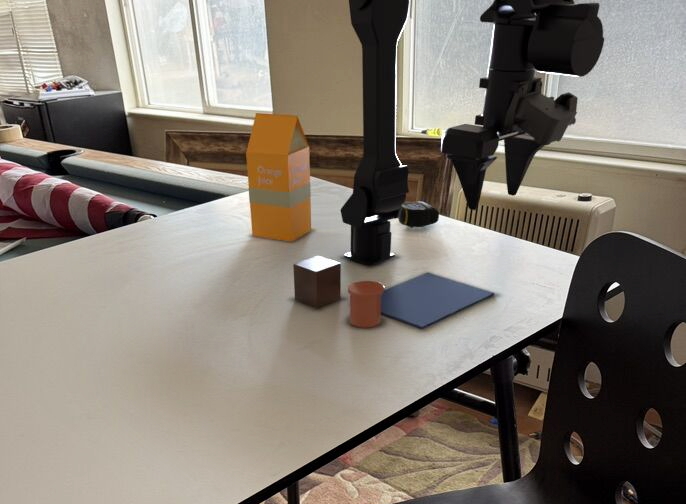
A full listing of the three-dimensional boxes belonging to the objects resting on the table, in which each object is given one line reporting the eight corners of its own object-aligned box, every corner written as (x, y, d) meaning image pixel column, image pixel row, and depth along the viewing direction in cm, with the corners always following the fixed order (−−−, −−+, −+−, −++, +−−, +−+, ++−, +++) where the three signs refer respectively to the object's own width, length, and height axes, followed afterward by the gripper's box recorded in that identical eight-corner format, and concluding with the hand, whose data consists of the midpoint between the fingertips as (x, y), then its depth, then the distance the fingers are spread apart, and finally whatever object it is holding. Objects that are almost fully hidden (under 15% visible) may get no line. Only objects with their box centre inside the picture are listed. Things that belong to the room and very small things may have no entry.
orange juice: (291, 242, 128) (286, 119, 115) (251, 235, 132) (242, 116, 119) (312, 230, 133) (309, 111, 121) (273, 224, 137) (266, 109, 124)
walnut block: (294, 299, 106) (293, 263, 103) (318, 290, 109) (317, 255, 105) (317, 308, 103) (316, 271, 100) (340, 299, 106) (340, 263, 102)
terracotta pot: (340, 321, 99) (340, 287, 96) (364, 311, 102) (365, 278, 99) (365, 331, 96) (366, 296, 93) (390, 321, 99) (391, 286, 96)
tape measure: (439, 228, 131) (441, 207, 129) (406, 232, 130) (407, 211, 128) (423, 218, 137) (425, 198, 134) (391, 222, 135) (392, 202, 133)
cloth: (354, 304, 104) (354, 302, 104) (427, 274, 113) (427, 272, 113) (421, 329, 96) (421, 327, 96) (494, 294, 105) (494, 293, 105)
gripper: (526, 84, 76) (503, 230, 86) (610, 65, 85) (581, 198, 95) (444, 75, 82) (432, 212, 92) (531, 58, 92) (512, 184, 102)
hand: (492, 202), depth 95 cm, fingers open, 9 cm apart
